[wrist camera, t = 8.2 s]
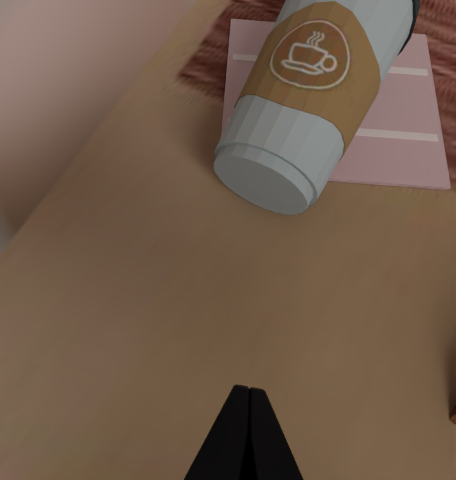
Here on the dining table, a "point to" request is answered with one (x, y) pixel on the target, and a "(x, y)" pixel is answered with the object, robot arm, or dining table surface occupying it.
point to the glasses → (453, 416)
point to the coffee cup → (309, 97)
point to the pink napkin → (369, 115)
